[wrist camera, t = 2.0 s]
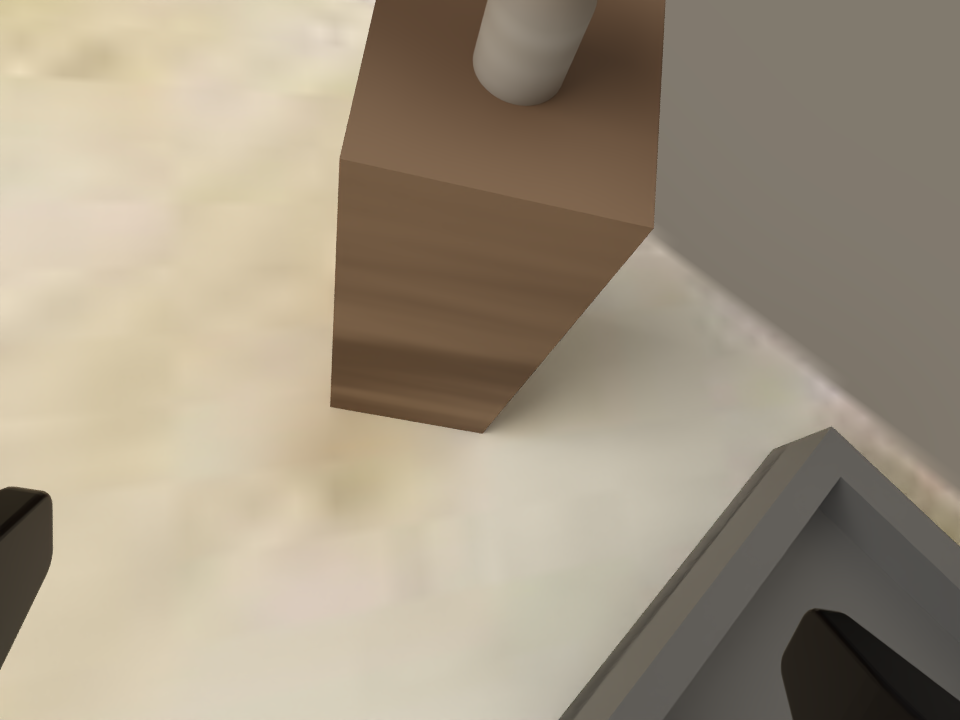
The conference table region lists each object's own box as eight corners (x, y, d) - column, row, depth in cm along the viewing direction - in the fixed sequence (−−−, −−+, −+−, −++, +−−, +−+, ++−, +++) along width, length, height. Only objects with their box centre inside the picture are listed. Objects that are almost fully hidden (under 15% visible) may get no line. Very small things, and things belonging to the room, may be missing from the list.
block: (482, 433, 22) (702, 170, 9) (330, 406, 22) (341, 84, 9) (499, 297, 24) (709, -90, 11) (358, 268, 23) (404, -177, 10)
